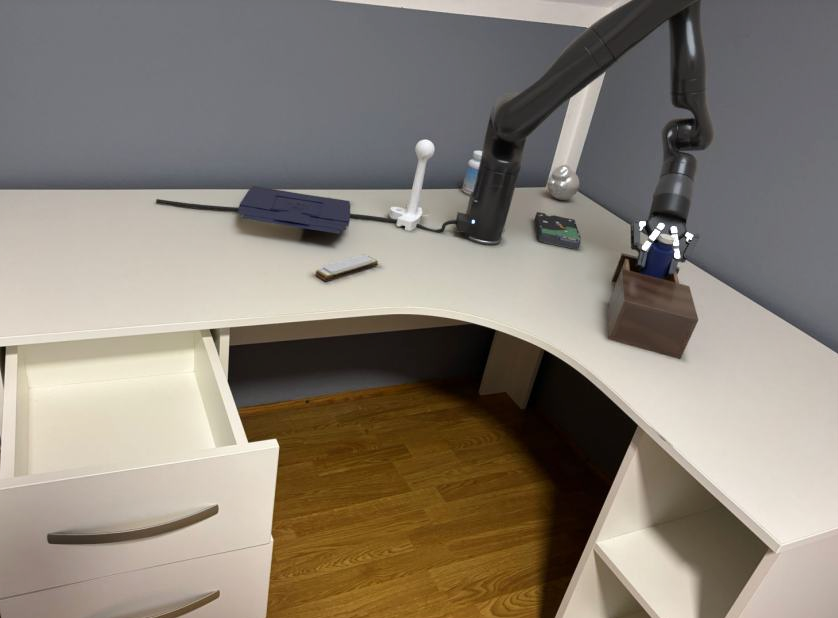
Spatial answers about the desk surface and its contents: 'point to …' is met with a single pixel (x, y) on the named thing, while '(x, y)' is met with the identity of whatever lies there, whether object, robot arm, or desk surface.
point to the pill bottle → (472, 172)
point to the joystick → (414, 189)
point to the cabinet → (651, 313)
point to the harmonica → (346, 267)
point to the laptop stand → (295, 209)
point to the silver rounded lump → (563, 183)
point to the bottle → (659, 257)
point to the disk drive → (557, 230)
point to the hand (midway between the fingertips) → (654, 272)
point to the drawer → (635, 268)
